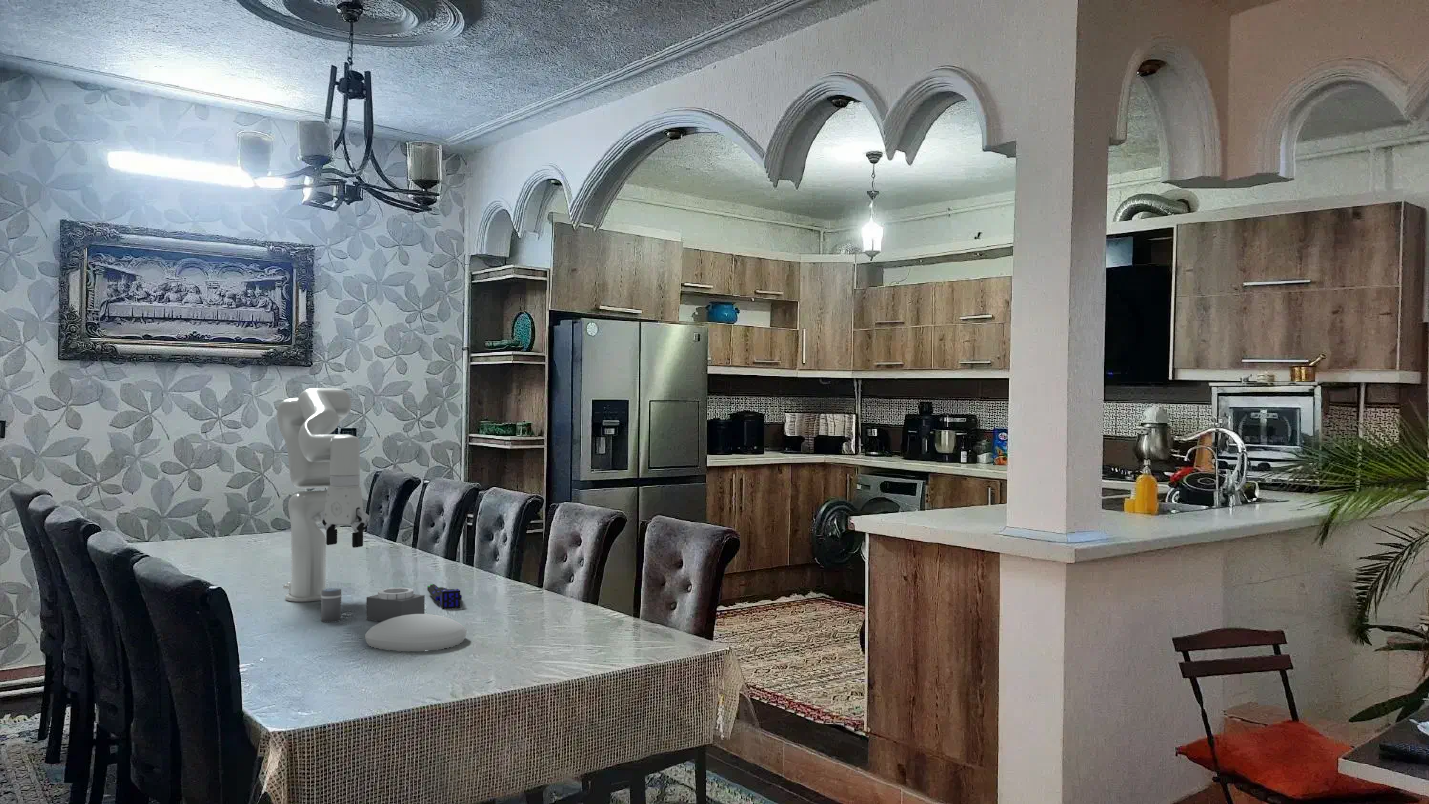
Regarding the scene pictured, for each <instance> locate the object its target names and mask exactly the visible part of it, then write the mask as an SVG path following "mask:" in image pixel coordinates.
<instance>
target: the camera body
mask: <svg viewBox="0 0 1429 804" xmlns="http://www.w3.org/2000/svg"><path fill="white" fill-rule="evenodd" d="M425 599H426V598H425V595H424V594H416V593H414V589H413V588H411V587H388V588H382V589H380V590H378V591H377V594H374V595H370V596H367V597H366V606H365V607H366V610H365V611H366V612H365V614H366V615H365V617H366V618H365V619H366V620H368V621H375V622H380V623H381V622H383V621H385V620H388V619H391V618H394V617H398V616H403V615H410V614H425V607H426V606H425V604H426V603H425Z"/></svg>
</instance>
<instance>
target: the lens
mask: <svg viewBox="0 0 1429 804" xmlns="http://www.w3.org/2000/svg"><path fill="white" fill-rule="evenodd" d="M320 601H321V602H320V606H321V607H320V621H321V622H323V623H334V622H335V621H336V622H340V621H341V620H342V589H341V588H336V587H331V588H326V589H324V590H321V600H320ZM339 620H340V621H339Z"/></svg>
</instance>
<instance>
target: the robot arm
mask: <svg viewBox="0 0 1429 804" xmlns="http://www.w3.org/2000/svg"><path fill="white" fill-rule="evenodd" d="M351 409H352V399H351V397H350V394H349V393H348V391H346V390H345V389H343V388H337V387H335V388H331V387H329V388H328V387H325V388H324V387H310V388H307V389H305V390H303V391H301V393H300V394H299V395H298V397H293V398H286V399H284V400H282V401H281V402H279V404H278V406H277V409H276V417H277V425H278V427H279V431H280V434H281V436H282V438H283V440H284V443H285V445H286V450H287V459H288V460H287V461H288V467H289V468H288V469H289V476H290V481H291V484H292V485H293V487H294V488H297V489H319V490H304V491H300V492H295V493H294V494H293V495H291V496H290V498H289V500H288V504H287V507H288V509H287V511H288V515H289V522H290V530H291V533H290V534H291V536H290V537H291V538H290V539H291V544H290V545H291V554H290V558H291V560H290V561H291V566H290V569H291V571H290V581H288V582H287V583H286V584H284V585H283V589H284V590H288V593H287V594H285V596H284V597H285V598H284V599H285V601H289V602H295V603H296V602H297V603H300V602H302V603H303V602H304V603H305V602H317V601H321V590H324V589H327V588H326V586H327V585H326V584H327V583H326V582H327V580H326V572H327V569H326V567H327V565H326V564H327V563H326V562H327V546H332V545H337V544H338V529H337V526H338V525H339V526H351V528H352V530H353V532H352V533H351V534H352V535H351V538H352V540H351V546H352V548H353V549H354V548H361V547H364V532H365V531H366V528H367V526H368V524H369V521H370V518H371V517H370V515H369V514H368V513H367V512H365V511H364V505H363V504H364V503H363V494H362V489H361V487H360V486H361V485H360V483H361V482H360V481H361V475H360V474H361V441H360V438H359V437H357V436H354V435H352V434H348V433H346V434H343V433H342V434H341V433H340V434H339V433H338V434H335V433H334V434H333V432H334V431H336V429H337V428H338V425H339V423H340V422H342V421H343V420H344V419H345V418H347V416H349V414H350V412H351ZM325 488H326V490H320V489H325ZM318 524H323V527H324V530H325V531H326V532H325V533H324V532H323V530H321V529H320V527H319V526H318Z"/></svg>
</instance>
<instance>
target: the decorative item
mask: <svg viewBox="0 0 1429 804" xmlns="http://www.w3.org/2000/svg"><path fill="white" fill-rule="evenodd" d="M466 635H467V629H466V628H465V626H464V625H463V624H461V623H460V622H458V621H457V620H454V619H452V618H449V617H446V616H443V615H437V614H432V613H431V614H429V613H424V614H410V615H403V616H398V617H394V618H391V619H388V620H385V621H383V622H381V621H380V622H378V623H377V624H375V625H373V626H371V628H369V629H368V630H367V631H366V632H365V635H364V638H365V641H366V643H367V645H368V646H369V647H370V646H371V647H370V648H372V647H374V648H373V649H376V648H379V649H378V650H382V649H388V650H387V651H390V650H397V651H396V652H401V651H424V652H426V651H425V650H436V651H438V650H437V649H443V650H445V649H444V648H447V649H450V648H449V647H451V648H453V647H452V646H454V647H456V646H455V645H457V646H459V645H461V644H463V642H464V641H465V639H466ZM460 643H461V644H460Z"/></svg>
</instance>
